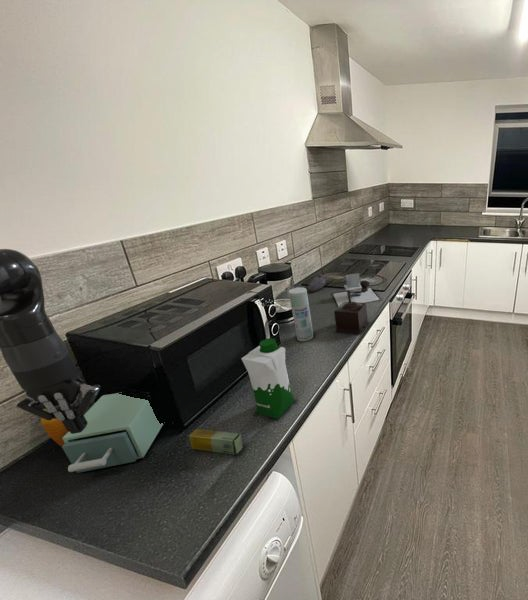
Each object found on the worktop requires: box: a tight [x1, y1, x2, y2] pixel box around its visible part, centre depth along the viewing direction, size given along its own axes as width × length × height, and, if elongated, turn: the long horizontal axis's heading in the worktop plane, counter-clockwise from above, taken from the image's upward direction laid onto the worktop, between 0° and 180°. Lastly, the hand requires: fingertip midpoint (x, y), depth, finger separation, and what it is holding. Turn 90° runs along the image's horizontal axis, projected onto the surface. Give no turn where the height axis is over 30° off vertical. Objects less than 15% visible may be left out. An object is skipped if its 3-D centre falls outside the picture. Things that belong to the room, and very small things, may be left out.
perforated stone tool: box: [307, 273, 326, 293], centre depth 176 cm, size 15×5×7 cm, turn 158°
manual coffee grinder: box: [333, 279, 370, 335], centre depth 133 cm, size 16×11×18 cm
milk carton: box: [240, 337, 295, 420], centre depth 86 cm, size 9×9×20 cm
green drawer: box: [61, 430, 138, 474], centre depth 75 cm, size 18×11×8 cm, turn 14°
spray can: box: [288, 286, 314, 342], centre depth 123 cm, size 6×6×20 cm
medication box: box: [188, 428, 244, 456], centre depth 76 cm, size 12×3×4 cm, turn 81°
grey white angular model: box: [332, 272, 381, 307], centre depth 163 cm, size 19×21×12 cm
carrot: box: [40, 409, 69, 447], centre depth 76 cm, size 5×5×15 cm
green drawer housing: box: [62, 392, 164, 460], centre depth 79 cm, size 15×13×10 cm
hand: (79, 430), depth 66 cm, fingers closed
